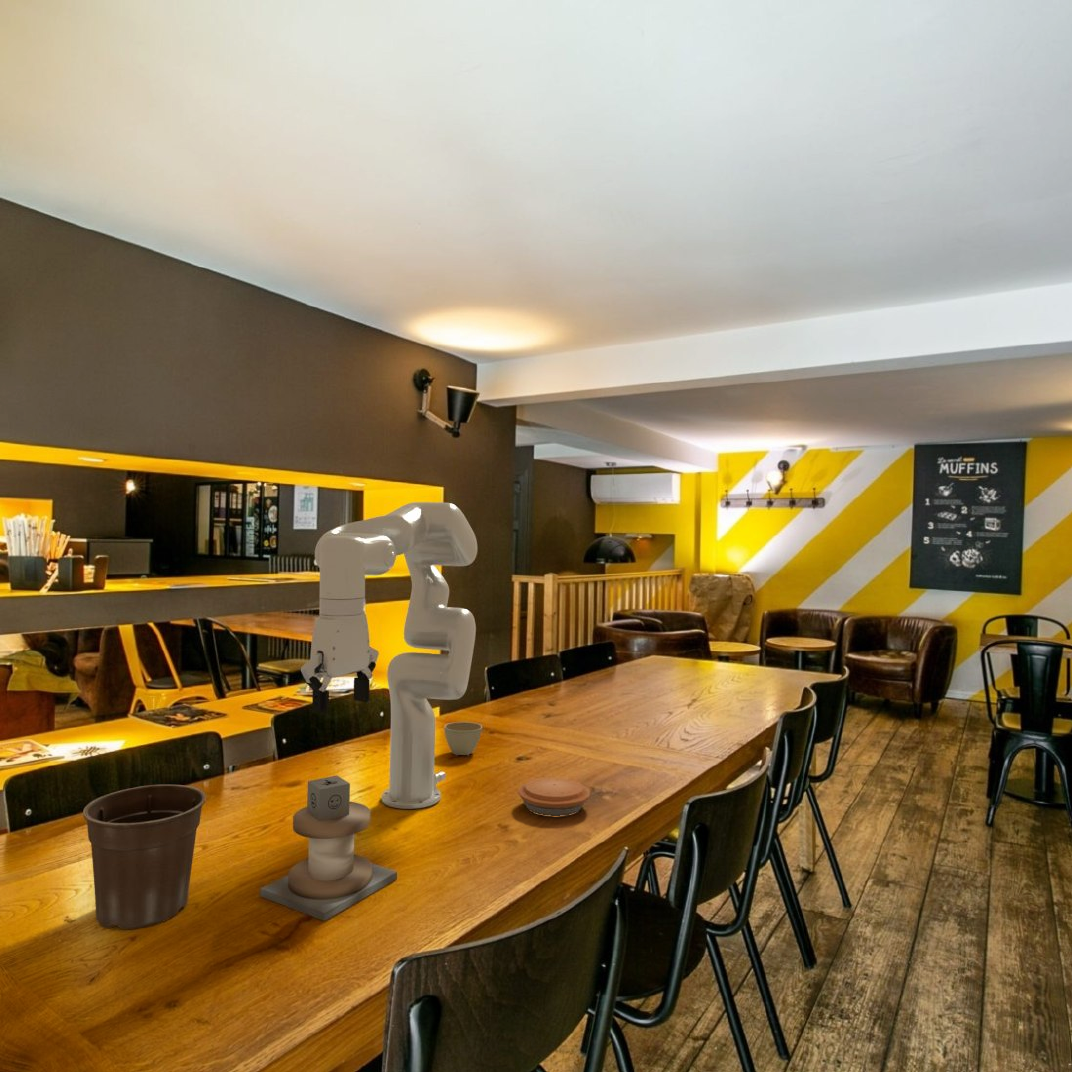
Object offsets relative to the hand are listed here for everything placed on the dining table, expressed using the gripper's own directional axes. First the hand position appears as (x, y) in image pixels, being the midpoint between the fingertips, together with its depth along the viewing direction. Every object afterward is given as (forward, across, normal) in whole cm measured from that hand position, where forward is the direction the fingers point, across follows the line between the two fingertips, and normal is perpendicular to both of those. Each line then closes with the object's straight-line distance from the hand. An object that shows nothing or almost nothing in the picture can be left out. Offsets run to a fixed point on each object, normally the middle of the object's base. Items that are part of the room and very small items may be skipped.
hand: (341, 707), depth 125 cm
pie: (+29, -44, +19) cm, 55 cm away
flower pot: (+30, -65, -20) cm, 74 cm away
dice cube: (+15, +7, +4) cm, 17 cm away
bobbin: (+27, +7, +5) cm, 28 cm away
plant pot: (+27, +27, -13) cm, 40 cm away
